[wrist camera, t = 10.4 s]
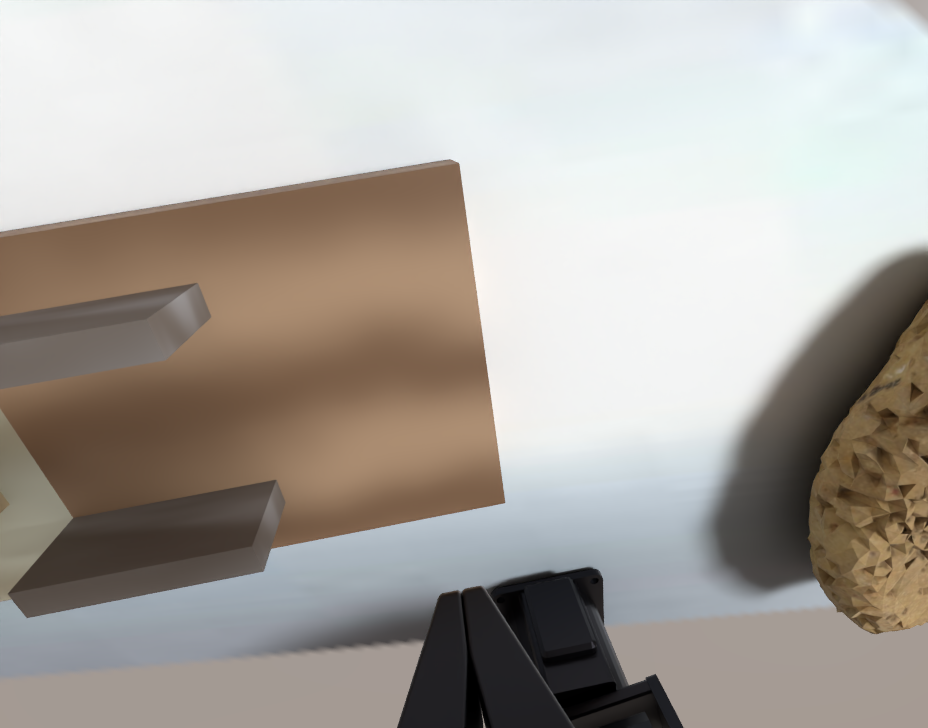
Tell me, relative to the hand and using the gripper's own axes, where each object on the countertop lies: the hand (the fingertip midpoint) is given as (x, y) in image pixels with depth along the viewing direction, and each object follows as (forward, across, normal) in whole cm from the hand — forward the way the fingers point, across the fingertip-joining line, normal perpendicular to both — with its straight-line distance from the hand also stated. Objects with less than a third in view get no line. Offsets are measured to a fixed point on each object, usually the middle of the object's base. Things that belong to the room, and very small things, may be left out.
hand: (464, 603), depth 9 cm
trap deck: (+13, +16, 0) cm, 20 cm away
